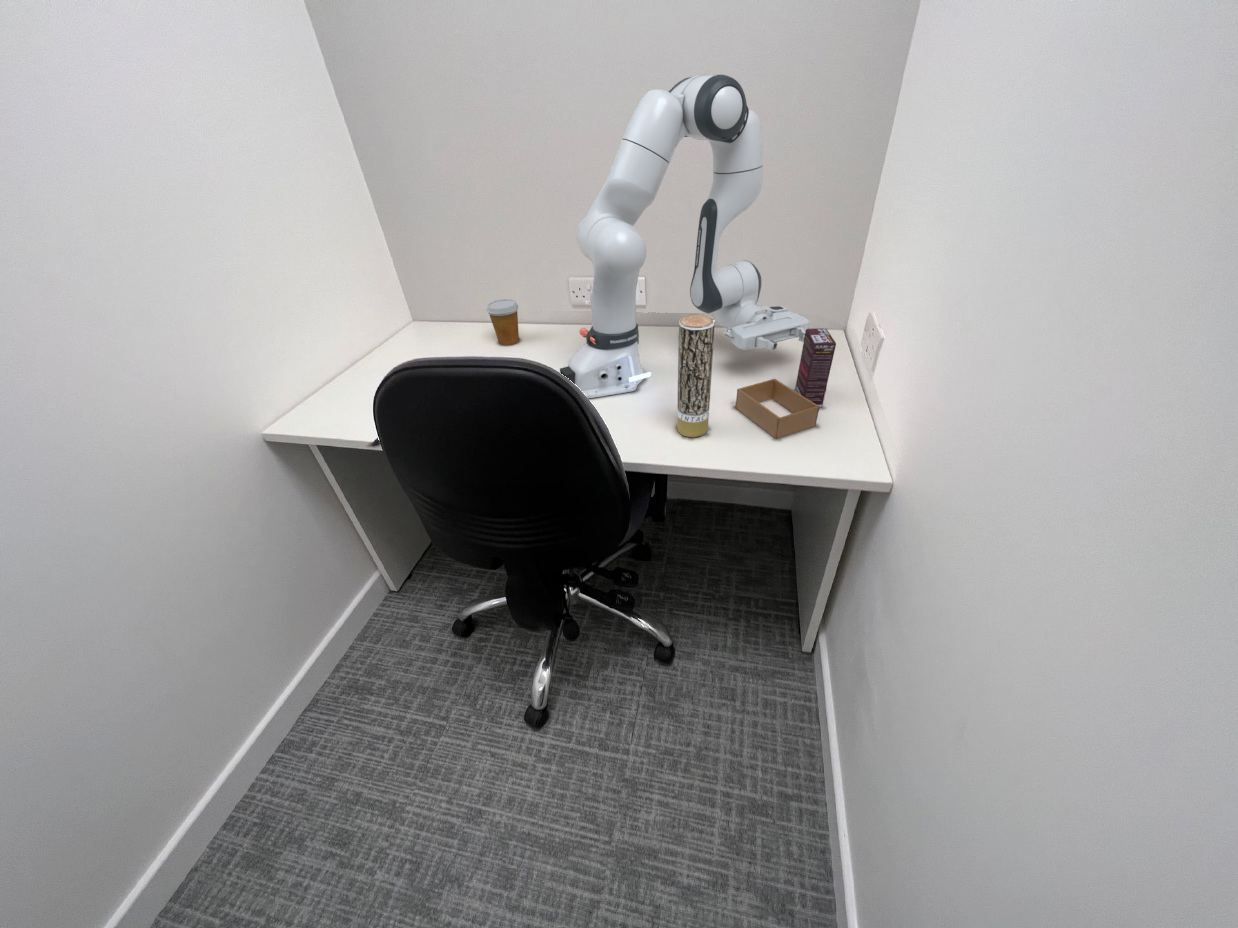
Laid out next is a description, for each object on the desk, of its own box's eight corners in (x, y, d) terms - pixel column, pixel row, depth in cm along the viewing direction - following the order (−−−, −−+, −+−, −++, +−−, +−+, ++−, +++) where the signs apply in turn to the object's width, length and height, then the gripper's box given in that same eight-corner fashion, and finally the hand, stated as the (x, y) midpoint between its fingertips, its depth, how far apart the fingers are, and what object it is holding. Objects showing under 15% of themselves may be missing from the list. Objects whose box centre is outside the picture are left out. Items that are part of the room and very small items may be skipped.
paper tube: (674, 423, 112) (676, 316, 97) (704, 420, 112) (710, 313, 98) (679, 440, 107) (682, 328, 92) (710, 437, 107) (718, 325, 92)
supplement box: (823, 408, 114) (837, 343, 105) (801, 408, 115) (813, 343, 105) (814, 390, 121) (827, 327, 111) (794, 390, 121) (804, 328, 112)
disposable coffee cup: (530, 338, 157) (523, 301, 150) (509, 349, 151) (502, 311, 144) (508, 333, 162) (501, 297, 154) (487, 344, 155) (478, 306, 148)
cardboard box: (776, 439, 105) (779, 419, 102) (735, 407, 116) (737, 389, 113) (815, 426, 108) (819, 406, 105) (771, 397, 119) (774, 378, 116)
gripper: (722, 320, 123) (755, 339, 113) (788, 305, 129) (826, 321, 119) (720, 344, 127) (752, 364, 117) (785, 328, 133) (821, 346, 123)
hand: (790, 342), depth 118 cm, fingers open, 8 cm apart
